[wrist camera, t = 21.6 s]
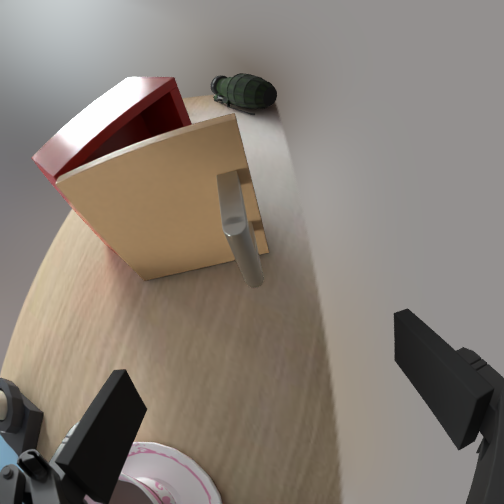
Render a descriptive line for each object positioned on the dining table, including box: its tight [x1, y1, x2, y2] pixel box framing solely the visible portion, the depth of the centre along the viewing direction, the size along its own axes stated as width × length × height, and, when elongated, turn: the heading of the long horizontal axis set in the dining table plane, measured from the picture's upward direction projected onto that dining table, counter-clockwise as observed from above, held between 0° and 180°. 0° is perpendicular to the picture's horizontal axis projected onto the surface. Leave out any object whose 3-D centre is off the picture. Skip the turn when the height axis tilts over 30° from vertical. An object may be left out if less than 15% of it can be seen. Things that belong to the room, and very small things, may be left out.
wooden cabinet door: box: [56, 113, 269, 288], centre depth 21 cm, size 6×13×15 cm, turn 99°
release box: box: [0, 378, 43, 457], centre depth 19 cm, size 8×12×4 cm, turn 165°
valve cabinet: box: [32, 77, 192, 257], centre depth 27 cm, size 8×13×15 cm, turn 144°
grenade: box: [211, 74, 277, 115], centre depth 41 cm, size 6×6×12 cm
